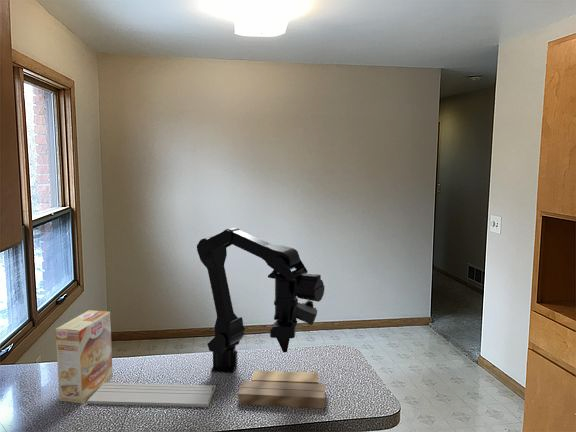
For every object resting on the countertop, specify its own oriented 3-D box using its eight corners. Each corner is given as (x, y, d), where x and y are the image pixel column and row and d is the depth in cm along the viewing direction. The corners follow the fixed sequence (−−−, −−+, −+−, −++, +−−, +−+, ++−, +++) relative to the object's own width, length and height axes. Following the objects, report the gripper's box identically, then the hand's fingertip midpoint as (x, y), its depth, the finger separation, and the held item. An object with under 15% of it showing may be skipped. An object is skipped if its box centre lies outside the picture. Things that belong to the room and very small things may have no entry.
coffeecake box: (83, 404, 119) (79, 330, 116) (58, 401, 120) (53, 328, 117) (114, 376, 133) (111, 310, 131) (91, 374, 135) (87, 309, 132)
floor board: (238, 404, 119) (238, 393, 119) (244, 387, 128) (244, 377, 127) (324, 408, 117) (324, 397, 117) (324, 391, 126) (325, 381, 125)
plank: (251, 389, 127) (251, 380, 126) (254, 380, 132) (254, 370, 132) (318, 391, 126) (318, 382, 126) (317, 382, 131) (318, 372, 131)
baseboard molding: (107, 383, 131) (87, 406, 119) (107, 373, 130) (86, 395, 118) (217, 386, 130) (208, 409, 118) (217, 376, 129) (208, 399, 117)
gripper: (314, 307, 116) (313, 367, 118) (316, 286, 134) (315, 338, 136) (269, 306, 117) (270, 365, 119) (277, 285, 135) (277, 336, 137)
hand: (285, 350), depth 128 cm, fingers closed
